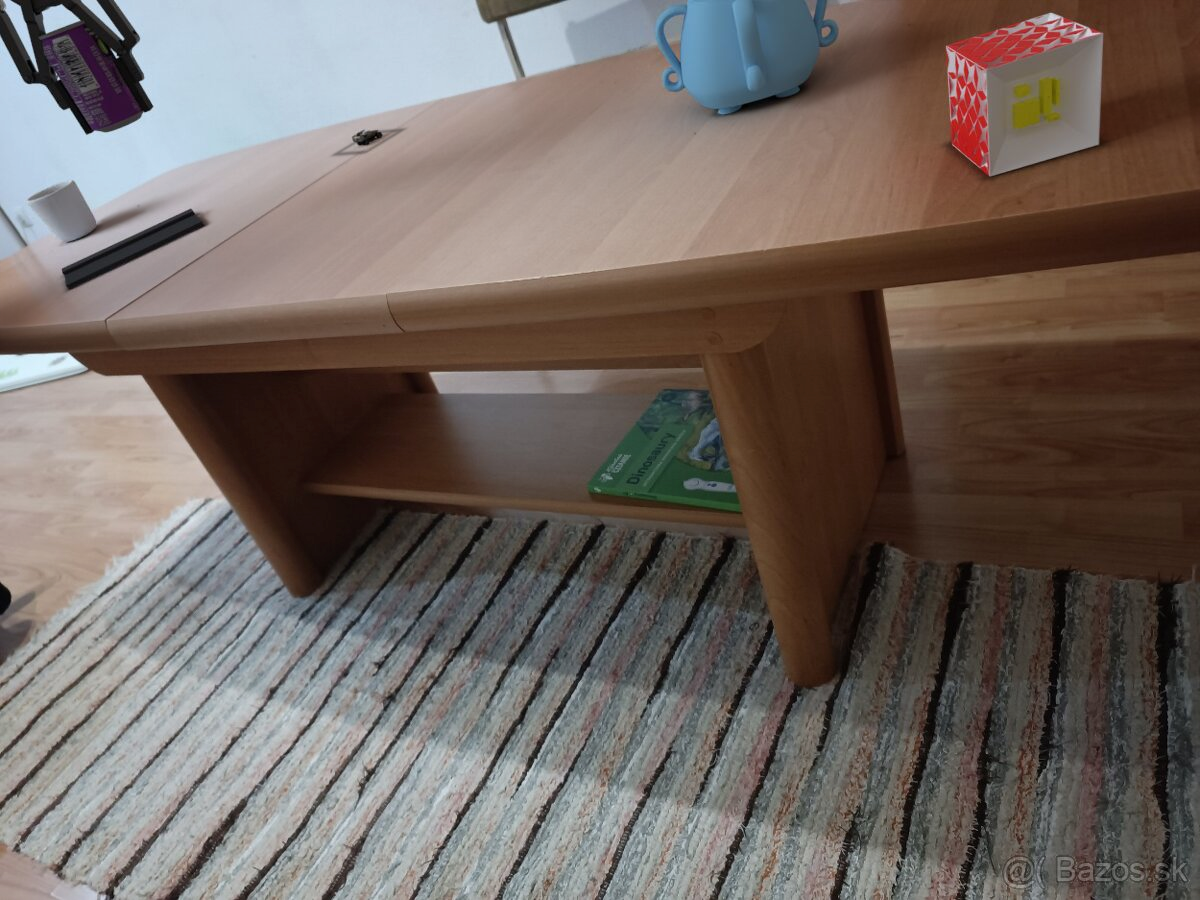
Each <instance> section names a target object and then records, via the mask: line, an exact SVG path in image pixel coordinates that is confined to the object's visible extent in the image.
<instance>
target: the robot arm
mask: <svg viewBox="0 0 1200 900" xmlns="http://www.w3.org/2000/svg"><path fill="white" fill-rule="evenodd" d="M10 2H12V3H14V4H16V5H18V6H19V7H20V10H21V15H22V19H23V21H24V22H25V23H24V24H26V29H27V33H28V37H29V40H30V45H31V48H32V53H33V55H34V56H33V57H34V59H35V64H36V66H35V64H34V62H33V61H32V59H31V57H30V55H29V52H28V51H27V49H26V46H25V45H24V43H23V41H22V38H21V37H20V35H19V33H18V31H17V29H16V27H15V25H14V23H13V21H12V19H11V17H10V16H9V14H8V12H7V11H6V9H7V5H6V2H5V0H0V38H1V40H2V42H3V44H4V46H5V48H6V50H7V52H8V54H9V55H10V57H11V59H12V62H13V63H14V65H15V68H16V69H17V71H18V73H19V75H20V76H21V79H22V80H23V82H24V83H25V84H27V85H32V84H33V85H35V84H36V85H42V86H45V87H46V88H47V90H48V92H49V93H50V95H51V96H52V98H53V99H54V101H55V102H56V104H57V106H58V107H59V108H60V109H61V110H62V111H66V110H69V111H70V112H71V113H72V115H73V116H74V118H75V120H76V121H77V123H78V124H79V126H80V127H81V129H82V131H83V132H84V134H85V135H86V136H88V135H90V134H92V133H94V132H95V131H94V130H92V129H91V127H90V126H89V124H88V122H87V121H86V119H85V118H84V116H83V115H82V113H81V111H80V110H79V108H78V107H77V105H76V104H75V102H74V100H73V99H72V97H71V96H70V94H69V93H68V91H67V89H66V88H65V86H64V85H63V83H62V81H61V80H60V79H59V77H58V75H57V74H56V72H55V70H54V69H53V67H52V66H51V64H50V63H49V61H48V59H47V58H46V56H45V54H44V50H43V43H42V40H40V39H39V37H40V36H43V35H45V34H47V32H46V28H45V24H44V15H43V12H45V11H48V10H49V9H50V8H52V7H53V8H56V7H58V6H63V8H65V9H66V10H67V11H69V12H71V13H72V14H73V15H74V16H75V17H76V18H77V19H79V21H82V20H84V22H85V23H84V24H85V25H86V26H87V27H88V28H89V29H90V30H92V31H93V32H94V33H96V35H97V36H98V37H99V38H100V39H101V40H102V41H103V42H104V43H106V44H107V45H108V46H109V47H110V48H111V50H112V52H113V53H115V54H116V55H115V57H116V58H117V59H115V60H114V62H115V64H116V66H117V67H118V69H119V71H120V72H121V74H122V76H123V77H124V79H125V81H126V82H127V84H128V86H129V87H130V89H131V91H132V92H133V94H134V96H135V98H136V99H137V101H138V103H139V104H140V106H141V108H142V109H143V111H144V112H143V114H146V113H148V112H150V111H151V110H152V109H153V108H154V107H155V106H154V104H153V103H152V101H151V100H150V99H151V98H149V96H148V94H147V93H146V91H145V89H144V88H143V86H142V84H141V83H140V82H143V80H145V74H144V72H143V71H142V68H141V66H140V64H139V63H138V62H137V60H136V58H135V56H134V54H133V49H134V48H135V47H136V45H138V43H140V41H141V36H140V35H139V33H138V32H137V30H136V29H135V27H134V26H133V25H132V23H131V22H130V21H129V19H128V18H127V16H126V14H124V12H123V11H122V10H121V8H120V6H119V5H118V4H117V2H116V1H115V0H96V2H97V3H98V5H99V6H100V7H101V9H102V10H103V11H104V13H105V14H106V16H107V17H108V18H109V20H110V21H111V22H112V24H113V25H114V27H115V28H116V30H117V31H118V32H119V34H120V35H121V37H122V38H123V39H122V38H121V37H120V36H119V35H118V34H117V33H116V32H115V31H114V30H112V28H110V27H109V26H108V25H107V24H106V23H105V22H104V21H103V20H102V19H101V18H100V17H98V15H97V14H95V13H94V11H92V10H91V9H90V8H89V7H88V6H87V5H86V4H85V3H83V1H82V0H10Z"/></svg>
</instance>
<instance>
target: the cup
mask: <svg viewBox="0 0 1200 900" xmlns="http://www.w3.org/2000/svg"><path fill="white" fill-rule="evenodd" d="M25 203H26V204H27V206H28V207H29V208H30V209H31V210H32V211H33V213H34V214H35V215H36V216H37V217H38V218H39V220H40V221H41V222H42V223H43V224H44V225H45V227H46V228H47V229H48V230H49V231H50V232H51V233H52V234H53V235H54V237H55V238H56V239H58V240H59V241H61V242H64V243H65V242H67V243H68V242H72V241H75V240H78V239H81V238H83V237H85V236H87V235H88V234H90V233H92V232H93V231H94V230H95V229H96V228H97V219H96V217H95V215H94V214H93V211H92V210H91V208H90V206H89V204H88V202H87V201H86V200H85V197H84V195H83V194H82V192H81V190H80V188H79V186H78V184H77V183H76V181H75V180H73V179H68V180H65V181H61V182H59V183H56V184H52V185H51V186H49V187H46V188H44V189H42V190H40V191H38V192H36V193H34V194H32V195H31V196H29V197H28V198H27V199H26V202H25Z"/></svg>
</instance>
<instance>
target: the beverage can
mask: <svg viewBox="0 0 1200 900" xmlns="http://www.w3.org/2000/svg"><path fill="white" fill-rule="evenodd" d="M84 23H85V22H84V20H82V21H81V20H77V21H76V22H73V23H69V24H67V25H64V26H62V27H59V28H57V29H55V30H52V31H49V32H46V34H45V35H43V36H40V37H39V39H40V40H42V43H43V50H44V54H45V56H46V58H47V59H48V61H49V63H50V64H51V66H52V67H53V69H54V70H55V72H56V76H57V75H58V79H59V80H61V81H62V83H63V85H64V86H65V88H66V89H67V91H68V93H69V94H70V96H71V97H72V99H73V100H74V102H75V104H76V105H77V107H78V108H79V110H80V111H81V113H82V115H83V116H84V118H85V119H86V121H87V122H88V124H89V126H90V127H91V129H92V130H94V132H100V133H110V132H114V131H117V130H120V129H122V128H124V127H127V126H129V125H131V124H133V123H135V122H137V121H138V120H140V119H141V118H142V117H143V114H144V111H143V109H142V108H141V106H140V104H139V103H138V101H137V99H136V98H135V96H134V94H133V92H132V91H131V89H130V87H129V86H128V84H127V82H126V81H125V79H124V77H123V76H122V74H121V72H120V71H119V69H118V67H117V66H116V64H115V62H114V60H115V59H117V58H118V57H117V56H116V55H115V54H114V53H115V52H114V51H113V50H112V49H111V48H110V47H109V46H108V45H107V44H106V43H104V42H103V41H102V40H101V39H100V38H99V37H98V36H97V35H96V33H94V32H93V31H92V30H90V29H89V28H88V27H87V26H86V25H85V24H84Z"/></svg>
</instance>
